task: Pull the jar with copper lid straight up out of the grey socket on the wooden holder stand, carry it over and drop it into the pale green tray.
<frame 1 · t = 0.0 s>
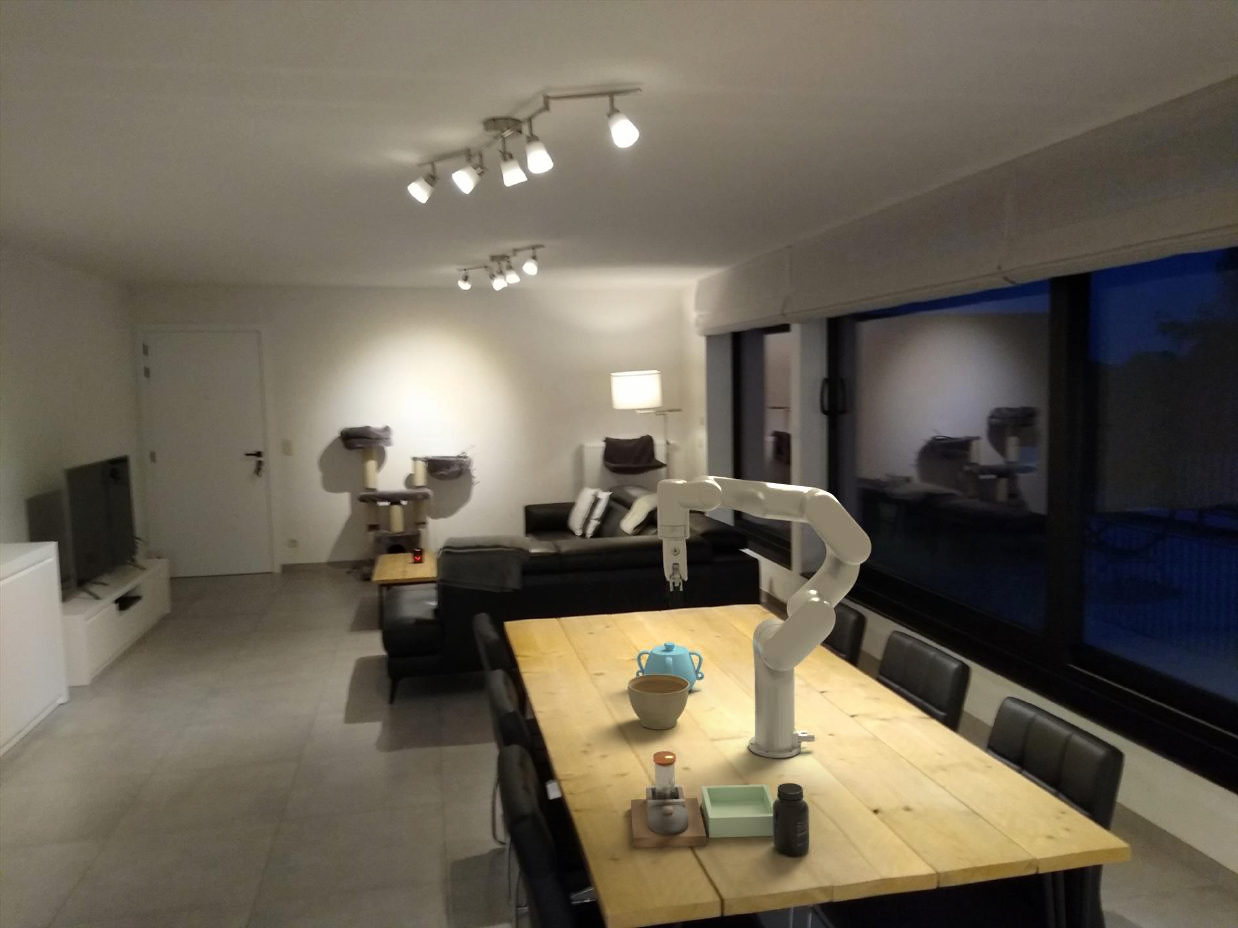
hand: (674, 602, 214), 37 cm above the table, tool pointing down, fingers open, 9 cm apart
jar with copper lid: (665, 807, 184), point 2 cm above the table, touching wooden holder stand
planter bowl: (659, 724, 235), on the table
decorative pot: (670, 688, 262), on the table
supplement bottle: (791, 849, 171), on the table
tray: (739, 819, 183), on the table
wooden holder stand: (666, 826, 181), on the table
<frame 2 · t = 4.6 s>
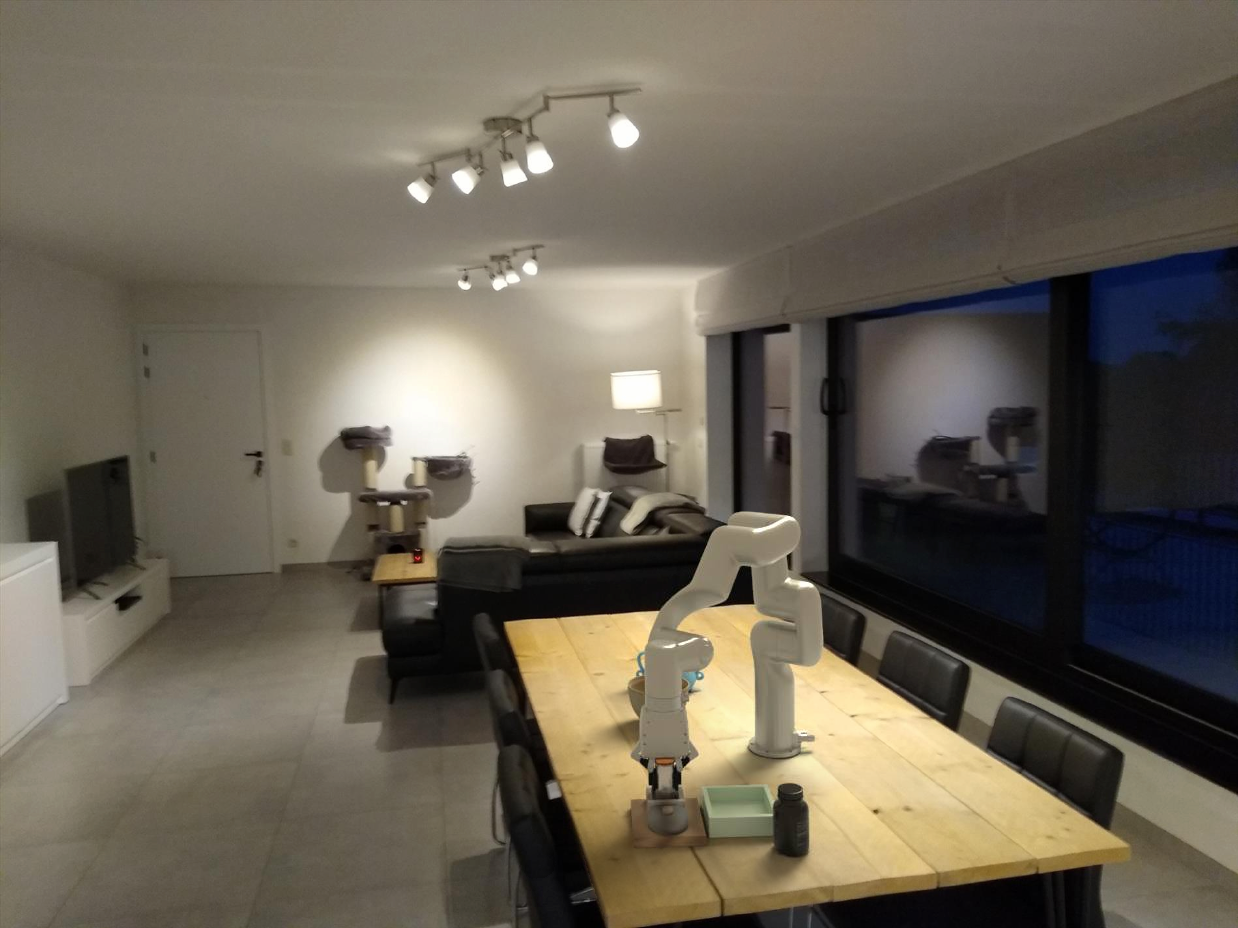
hand: (664, 787, 184), 6 cm above the table, tool pointing down, fingers closed on jar with copper lid, 4 cm apart
jar with copper lid: (665, 807, 184), point 2 cm above the table, touching gripper, wooden holder stand
everything else where it was.
when the fingers open (7 cm above the table, at t = 10.8 s): jar with copper lid drops 2 cm, resting on tray.
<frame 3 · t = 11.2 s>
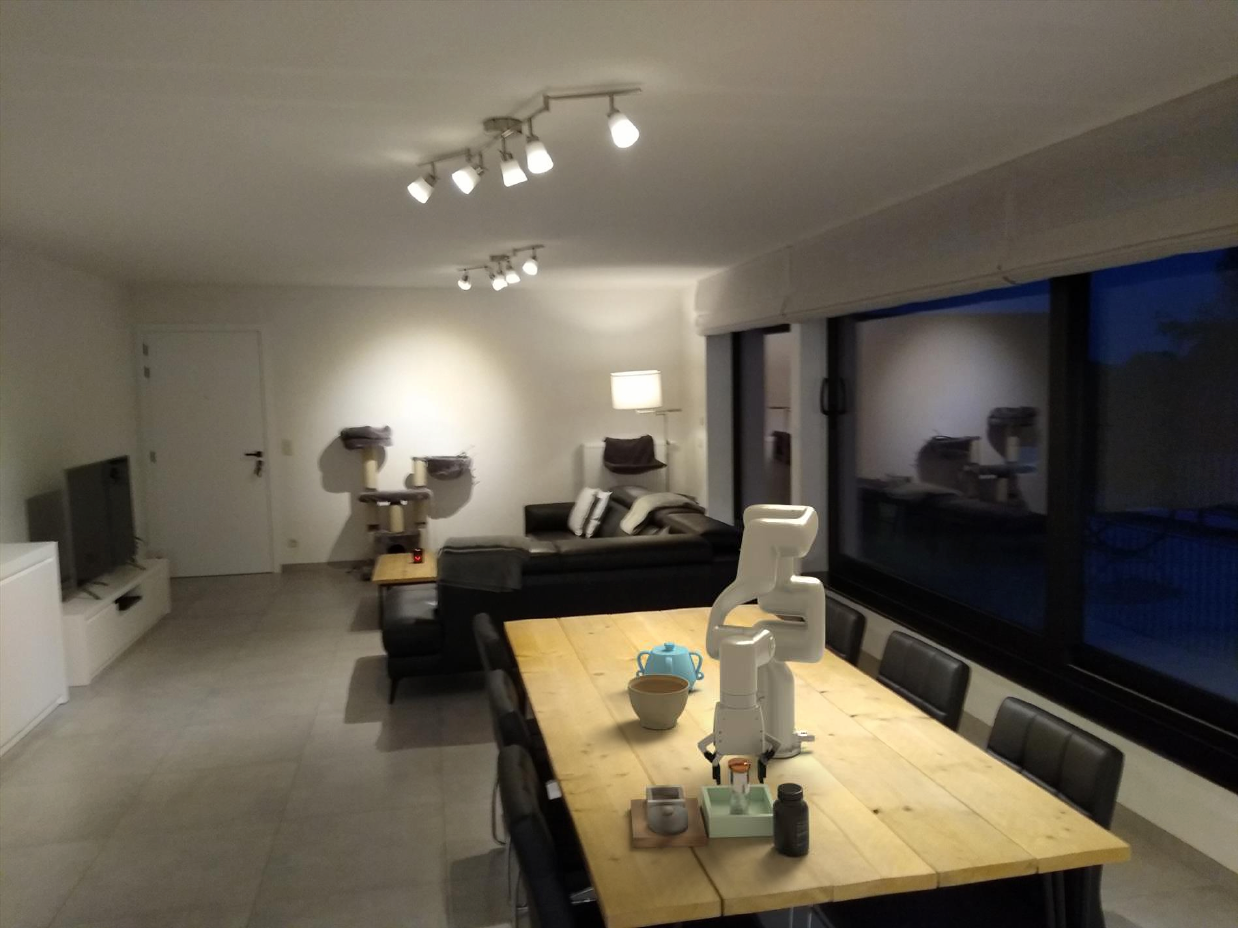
hand: (739, 781, 182), 8 cm above the table, tool pointing down, fingers open, 8 cm apart
jar with copper lid: (739, 814, 183), point 1 cm above the table, touching tray
everything else where it was.
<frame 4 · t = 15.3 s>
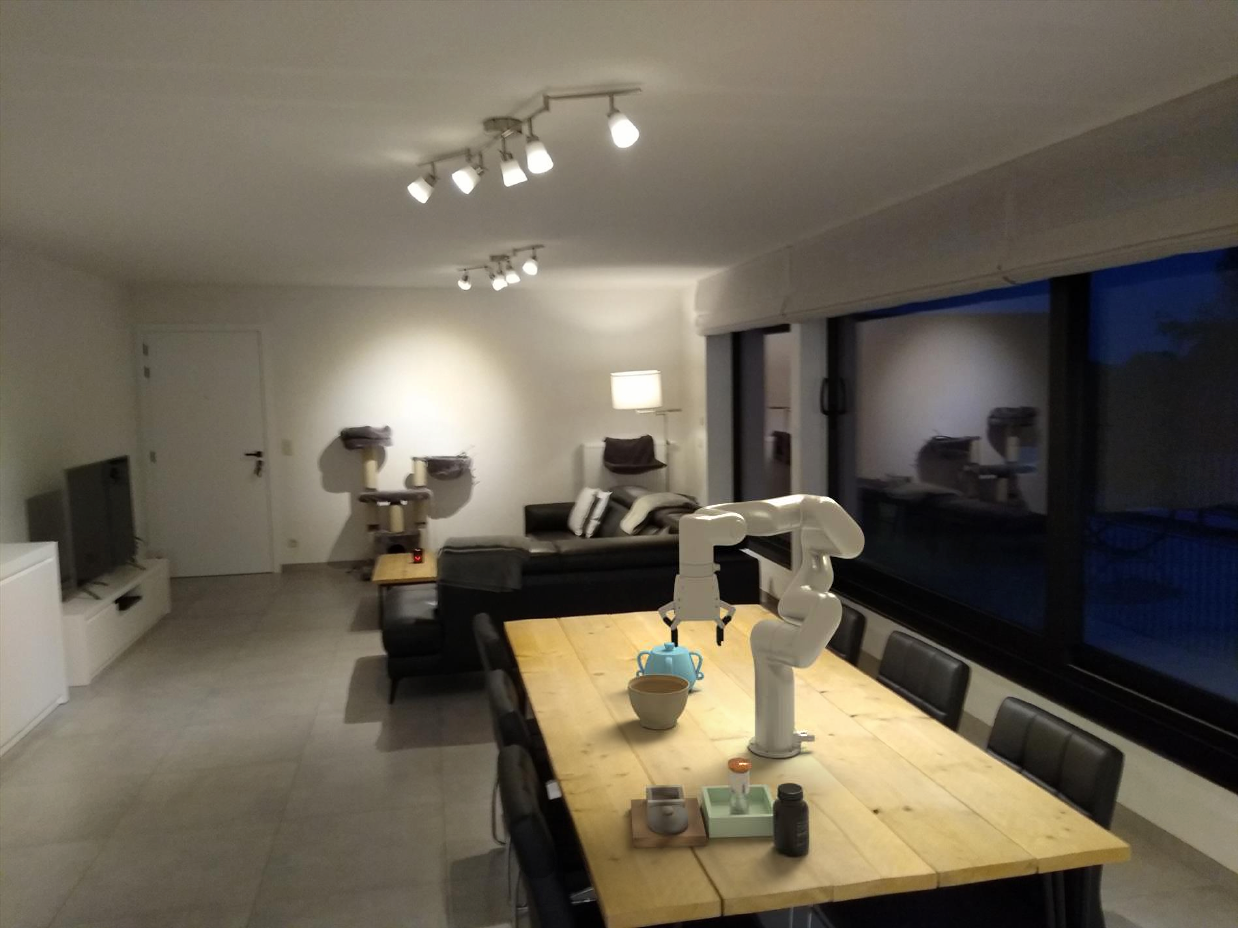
hand: (697, 645, 201), 30 cm above the table, tool pointing down, fingers open, 9 cm apart
nothing on the table moved.
at the end: jar with copper lid inside the target area on the tray (0.1 cm from its centre), point 1.0 cm above the tray's base; the gripper is holding nothing; jar with copper lid touching tray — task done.
